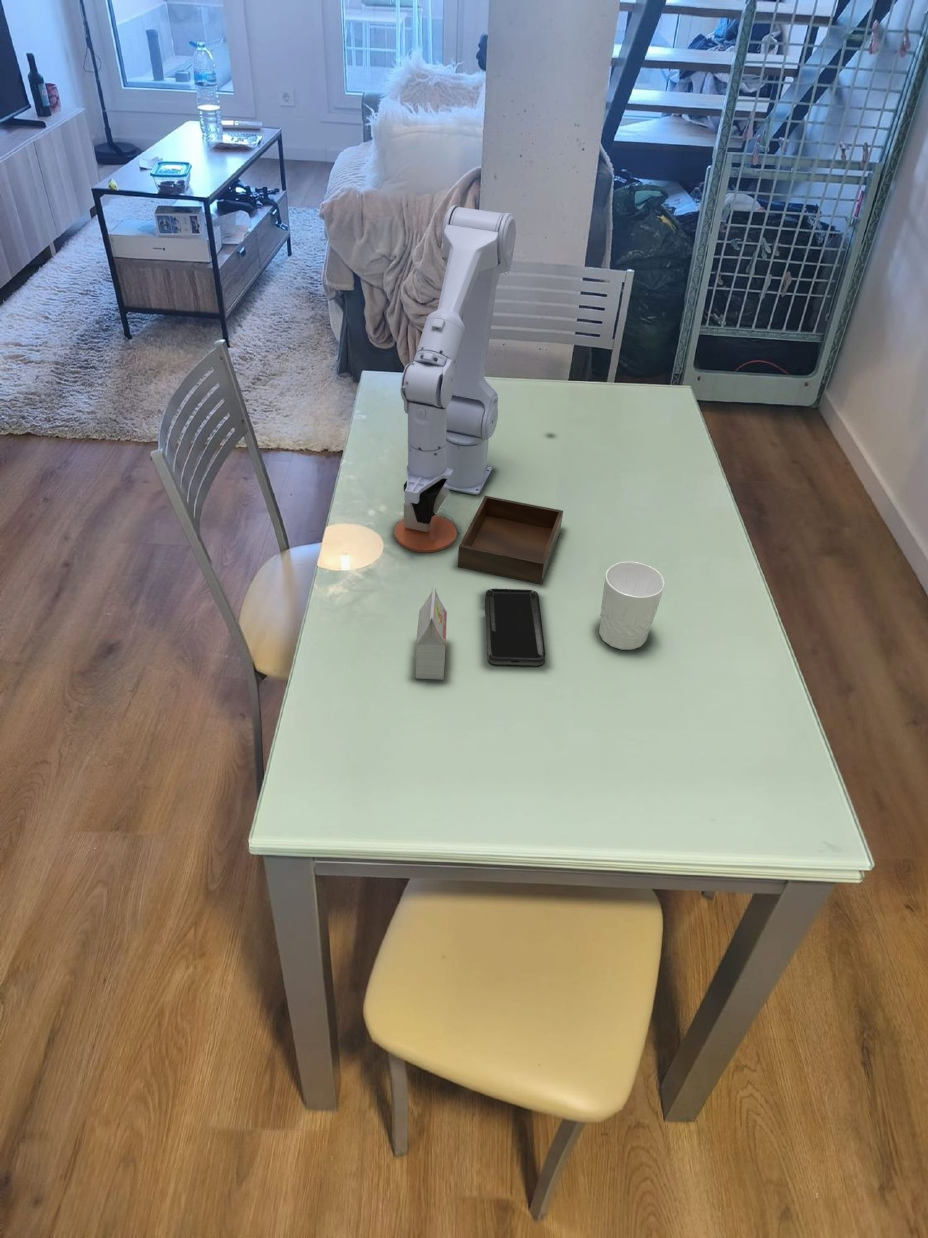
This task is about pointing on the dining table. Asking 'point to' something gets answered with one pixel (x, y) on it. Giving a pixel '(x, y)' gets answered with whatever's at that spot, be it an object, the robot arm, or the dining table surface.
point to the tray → (510, 539)
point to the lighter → (410, 515)
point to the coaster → (427, 536)
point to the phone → (514, 627)
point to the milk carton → (431, 639)
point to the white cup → (629, 604)
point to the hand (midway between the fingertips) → (425, 518)
